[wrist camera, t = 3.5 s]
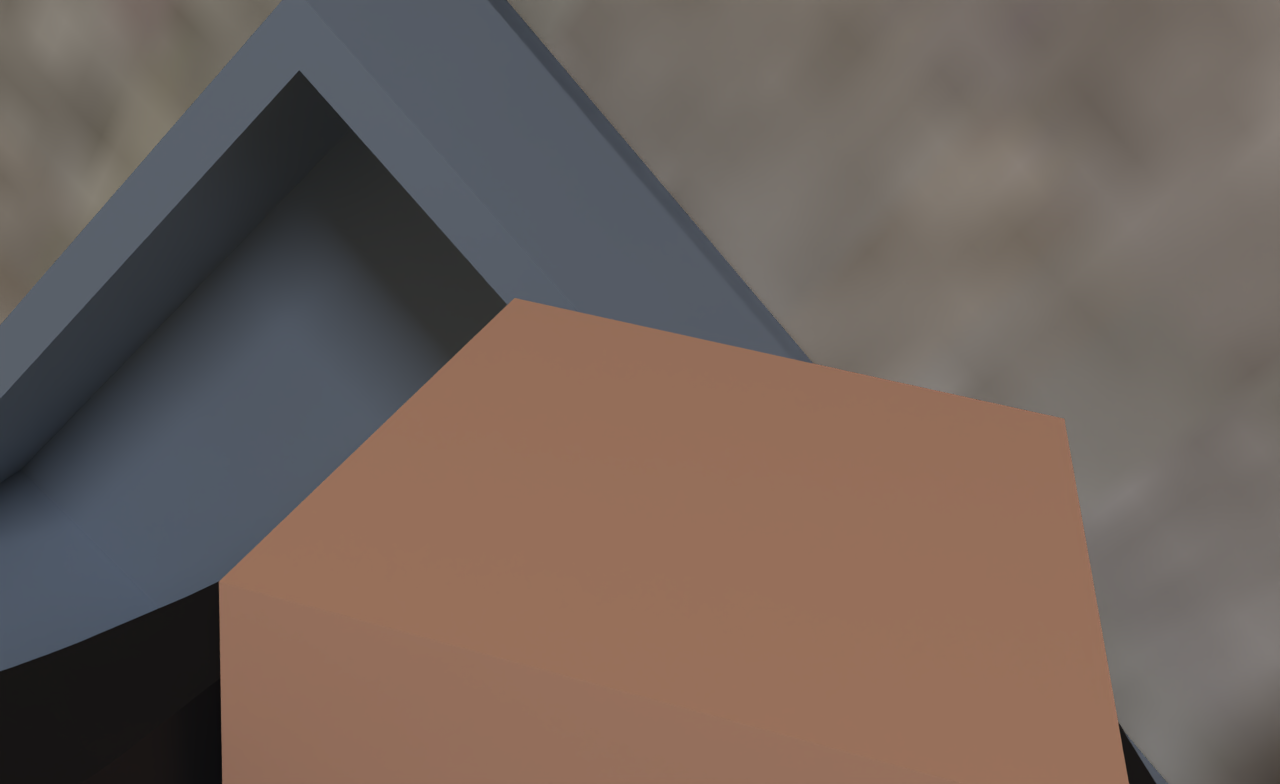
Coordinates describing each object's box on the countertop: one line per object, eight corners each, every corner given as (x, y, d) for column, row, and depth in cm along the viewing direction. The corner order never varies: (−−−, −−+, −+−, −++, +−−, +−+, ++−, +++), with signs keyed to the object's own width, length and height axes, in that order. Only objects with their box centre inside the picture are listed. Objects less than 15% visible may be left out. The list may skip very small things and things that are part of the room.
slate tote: (1183, 802, 20) (1247, 1076, 15) (605, 1055, 25) (529, 1310, 21) (468, -45, 17) (293, -14, 13) (3, 448, 23) (-230, 589, 18)
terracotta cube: (1063, 418, 10) (1137, 830, 6) (927, 846, 13) (906, 1386, 8) (514, 297, 11) (218, 581, 7) (473, 719, 13) (228, 1145, 9)
